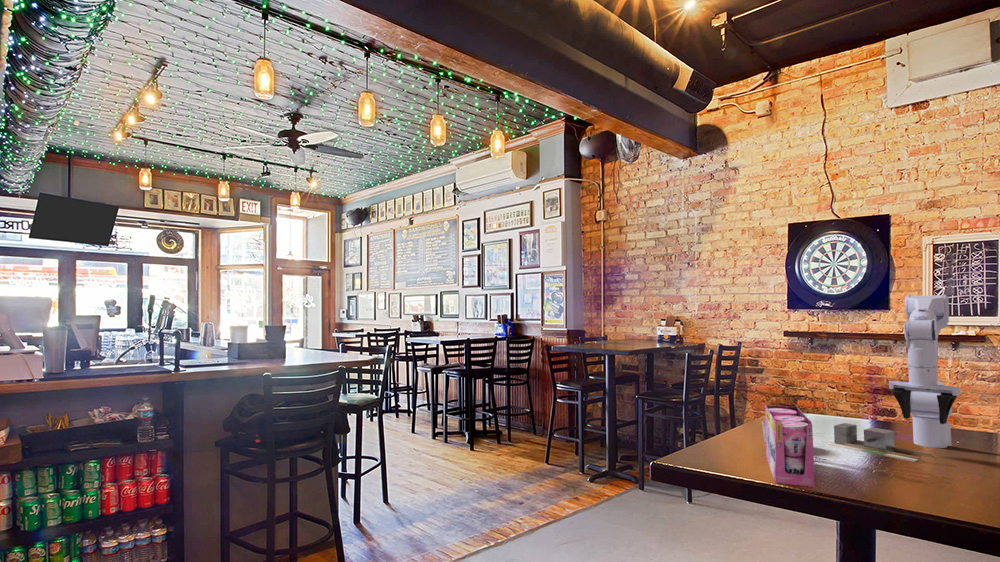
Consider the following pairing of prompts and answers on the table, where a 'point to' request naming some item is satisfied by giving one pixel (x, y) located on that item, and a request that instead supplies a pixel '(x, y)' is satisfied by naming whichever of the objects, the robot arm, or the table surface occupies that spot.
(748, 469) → the table surface
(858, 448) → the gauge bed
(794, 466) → the gum box
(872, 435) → the gauge carriage
